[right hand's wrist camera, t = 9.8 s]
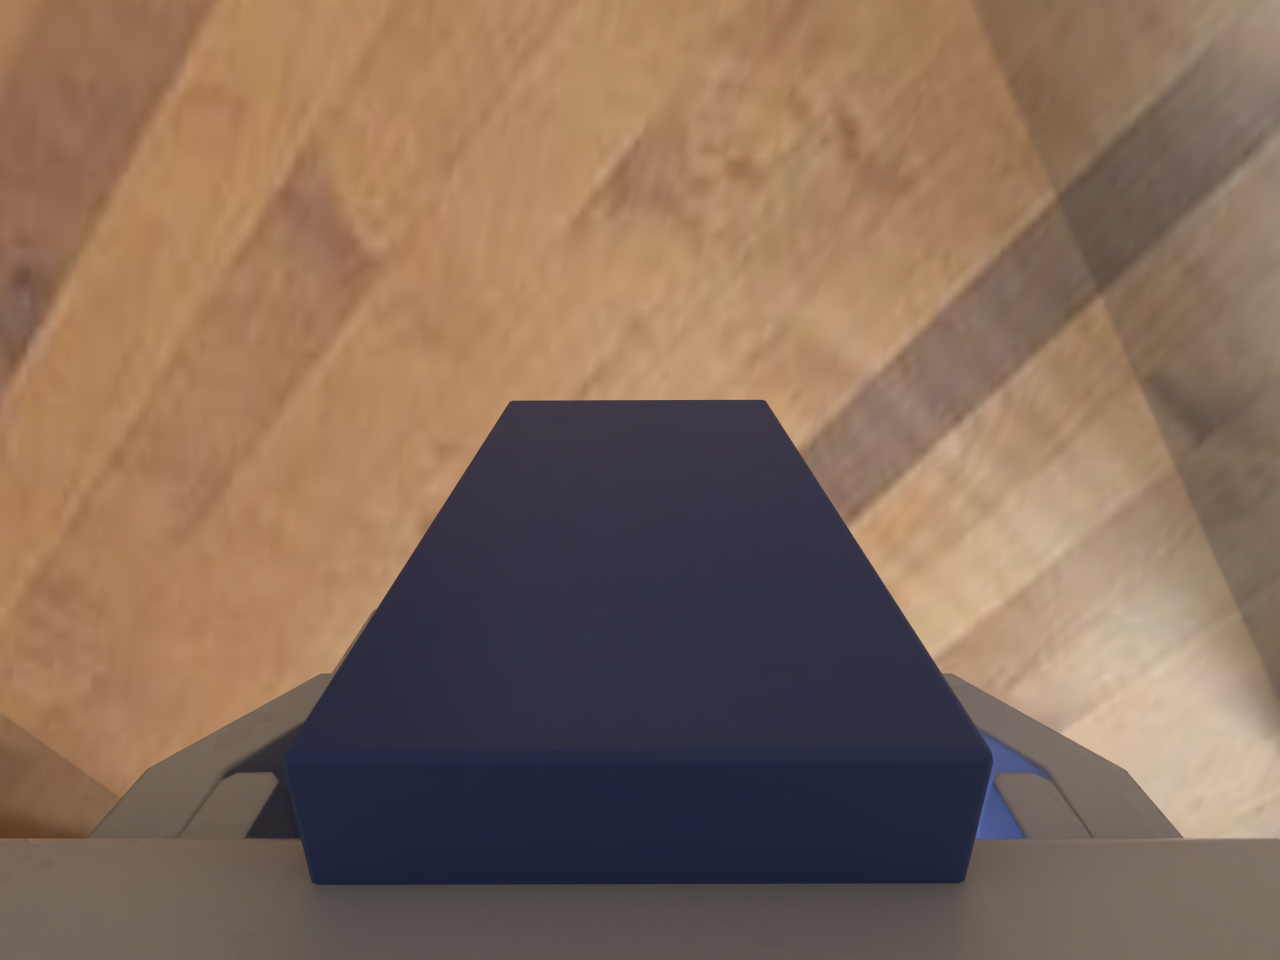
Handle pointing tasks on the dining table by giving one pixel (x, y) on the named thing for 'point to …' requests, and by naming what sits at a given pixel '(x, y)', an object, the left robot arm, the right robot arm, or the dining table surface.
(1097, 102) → the dining table surface
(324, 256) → the dining table surface
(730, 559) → the bar
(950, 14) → the dining table surface
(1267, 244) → the dining table surface
